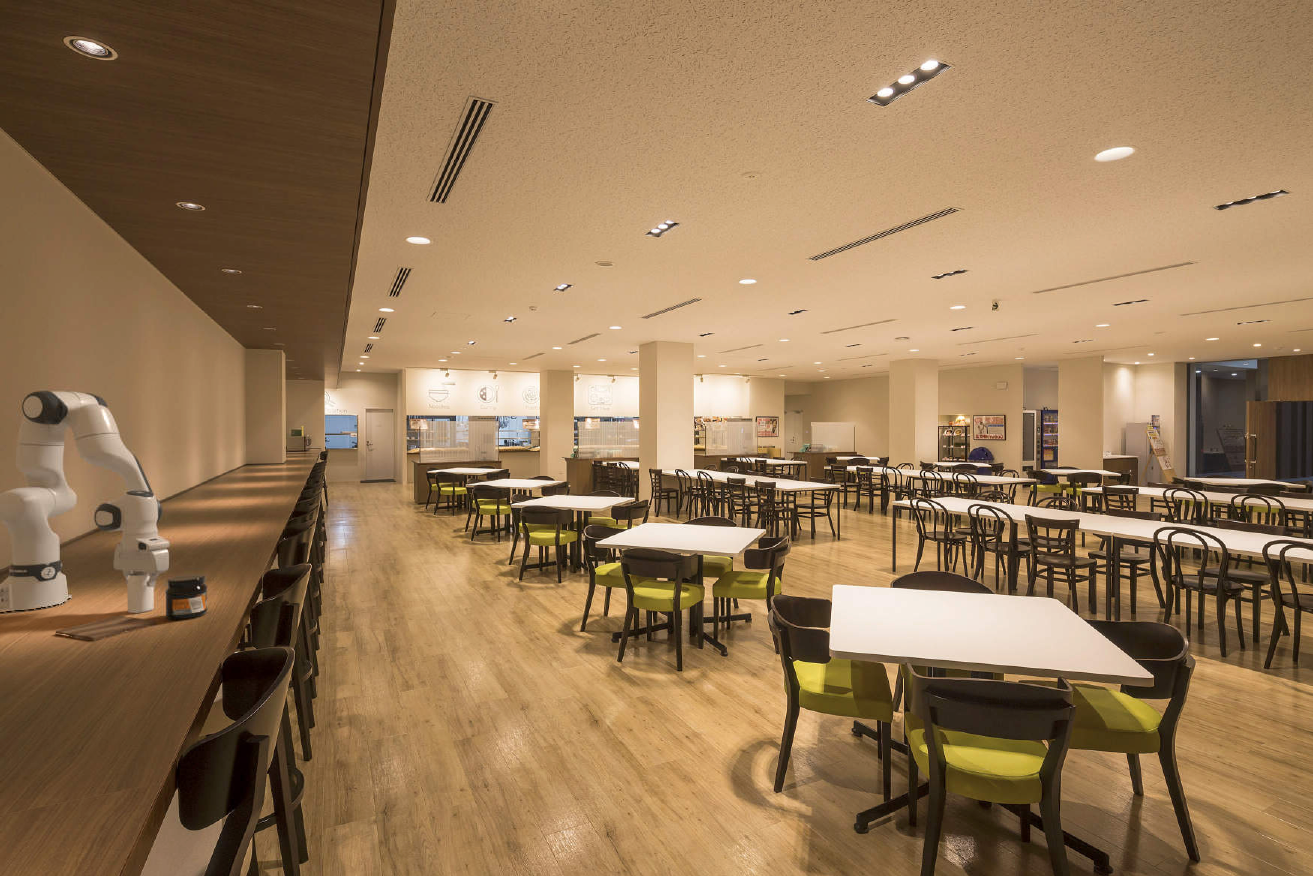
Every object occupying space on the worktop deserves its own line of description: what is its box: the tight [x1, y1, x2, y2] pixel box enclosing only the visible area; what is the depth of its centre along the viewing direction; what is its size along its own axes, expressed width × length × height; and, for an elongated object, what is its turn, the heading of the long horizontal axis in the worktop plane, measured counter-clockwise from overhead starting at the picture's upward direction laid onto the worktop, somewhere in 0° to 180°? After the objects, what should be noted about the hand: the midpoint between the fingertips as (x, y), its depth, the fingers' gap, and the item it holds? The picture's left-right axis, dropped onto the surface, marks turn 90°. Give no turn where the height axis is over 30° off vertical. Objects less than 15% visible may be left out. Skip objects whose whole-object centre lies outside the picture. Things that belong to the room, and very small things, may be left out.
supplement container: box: [164, 573, 208, 621], centre depth 198 cm, size 10×10×12 cm
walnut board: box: [55, 615, 157, 642], centre depth 184 cm, size 16×16×1 cm
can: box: [127, 572, 155, 614], centre depth 203 cm, size 6×6×12 cm
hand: (140, 585), depth 203 cm, fingers open, 8 cm apart
